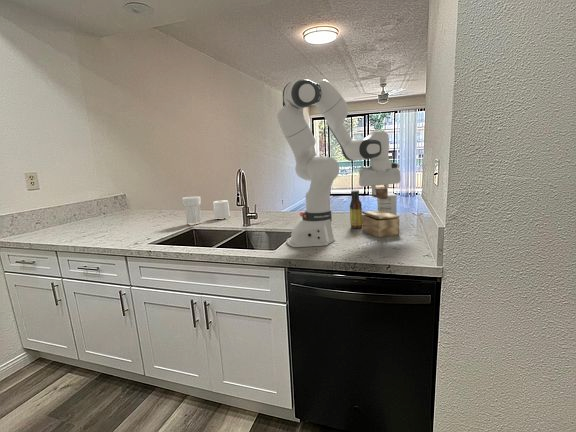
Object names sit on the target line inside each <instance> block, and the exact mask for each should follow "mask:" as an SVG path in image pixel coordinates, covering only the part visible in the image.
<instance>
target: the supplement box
mask: <svg viewBox="0 0 576 432" xmlns="http://www.w3.org/2000/svg"><path fill="white" fill-rule="evenodd" d="M397 199H398V198H397V194H396V193H394V192H393V193H392V192H391V193H388V199H379V198H377V199H376V202H377V211H385V212H388V213H391V214H394V215H397V214H398V213H397V211H398V210H397V205H398V204H397ZM397 216H398V215H397Z"/></svg>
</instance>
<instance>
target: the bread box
mask: <svg viewBox="0 0 576 432" xmlns="http://www.w3.org/2000/svg"><path fill="white" fill-rule="evenodd" d="M361 229H362V231H364V232H366V233H367V234H370V235H372V236H374V237H376V238H386V237H394V236H395V237H396V236H400V217H399V218H388V219H376V218H373V217H371V216H368V215H366V214H362V227H361Z"/></svg>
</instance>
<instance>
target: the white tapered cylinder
mask: <svg viewBox="0 0 576 432" xmlns="http://www.w3.org/2000/svg"><path fill="white" fill-rule="evenodd" d="M212 206H213V207H212V208H213V214H214V215H213V216H214V217H215V218H226V217H229V216H230V205H229V200H227V199H225V200H224V199H223V200H222V199H221V200H215V201H213V202H212ZM230 217H231V216H230ZM215 218H214V219H215Z"/></svg>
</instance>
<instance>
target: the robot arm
mask: <svg viewBox="0 0 576 432" xmlns="http://www.w3.org/2000/svg"><path fill="white" fill-rule="evenodd" d="M313 105H314V106H315V107H316V108H317V110H318V111H319V112H320V114H321V115H322V116H323V118H324V119H325V122H326V123H327V125H328V126H327V127H328V128H329V130H330V131H331V133H332V135H333V137H334V138H335V140H336V141H337V143H338V145H339V147H340V148H341V153H342V155H343V157H344V158H345V159H346V160H347V161H350V162H353V161H364V160H365V161H366V160H367V161H368V160H369V166H361V168H359V171H358V172H359V177H358V184H359V186H360V187H363V188H365V187H370V188H371V191H372V190H373V194H374V195H378V191H376V190H375V188H376V187H377V186H383V188H385V189H388V188H389V186H390V185H394V184H395V185H396V184H400V182H401V177H402V176H401V170H400V169H399V168H400V164H399V163H398V162H397V163H396V162H392V161H390V156H389V151H390V141H389V140H390V139H389V135H388V133H387V132H386V131H384V130H372V131H370V133H369V134H368V135H366V136H365V137H363V138H359V139H356V138H355V139H354V138H353V137H351V136H350V134H349V132H348V130H347V128H346V126H345V125H344V121H345V120H346V118H347V116H348V114H349V106H348V103H347V102H346V99H345V98H344V97H343V95H342V94H341V93H340V92H339V90H338V89H337V88H336V87H335V86H334V85H333V83H331V82H330V81H329V80H328V79H319V80H317V81H316V82H314V81H312V80H310V79H306V78H301V79H295V80H292V81H290V82H288V83H287V84H286V85H285V86H284V88H283V90H282V106H283V107H282V108H281V109H280V110H279V111H278V112H277V121H278V124H279V127H280V128H281V132H282V134H283V135H284V137H285V139H286V141H287V143H288V145H289V147H290V149H291V151H292V153H293V156H294V159H295V174H296V175H297V176H298V177H299V178H300V179H303V180H305V181H310V184H309V189H308V191H307V192H306V194H305V209H306V211H305V212H303V211H300V212H299V216H300V217H302V218H301V219H302V220H301V221H300V222H299V223H298V224H296V225H294V227H293V228H292V230H291V234H290V237H288V238H287V239H286V245H288V246H289V247H292V248H306V247H323V246H324V247H325V246H328V245H329V244H331V243H334V242H335V241H336V239H335V236H334V233H333V227H332V221H333V220H332V219H333V217H332V210H331V189H332V186H333V183H334V180H335V179H336V178H337V177H338V176H339V173H340V166H339V162H338V161H337V160H336V159H335V158H333V157H329V156H325V155H324V156H321V155H320V156H319V155H318V154H317V152H316V149H315V145H316V138H315V136H314V134H313V132H312V130H311V128H310V125H309V124H308V122H307V120H306V119H305V115H304V108H309V107H311V106H313ZM388 190H389V189H388Z"/></svg>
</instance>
